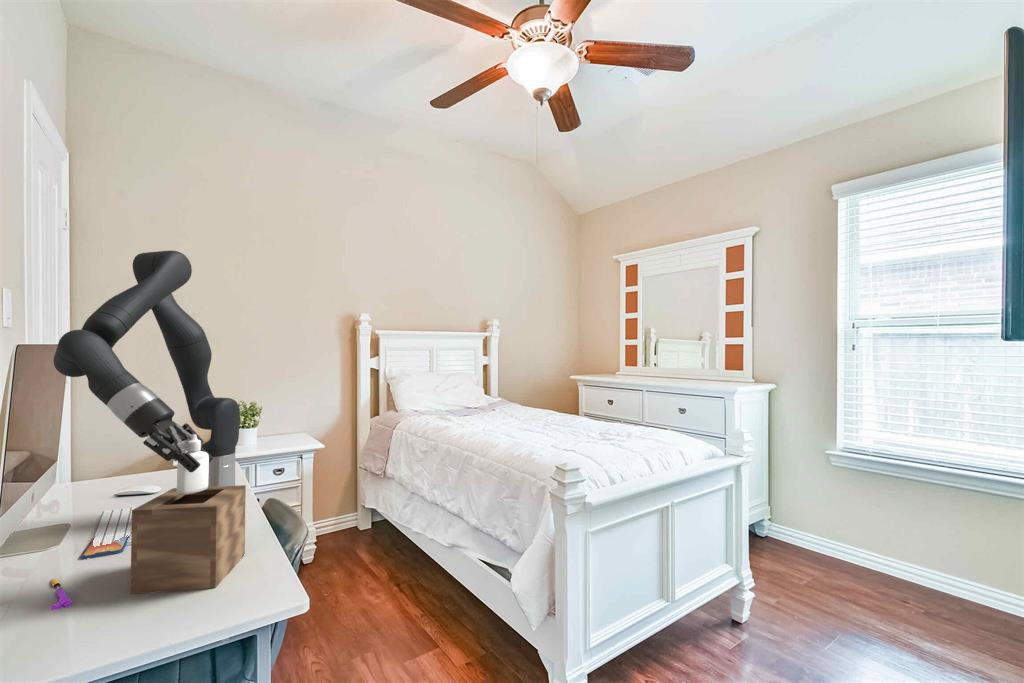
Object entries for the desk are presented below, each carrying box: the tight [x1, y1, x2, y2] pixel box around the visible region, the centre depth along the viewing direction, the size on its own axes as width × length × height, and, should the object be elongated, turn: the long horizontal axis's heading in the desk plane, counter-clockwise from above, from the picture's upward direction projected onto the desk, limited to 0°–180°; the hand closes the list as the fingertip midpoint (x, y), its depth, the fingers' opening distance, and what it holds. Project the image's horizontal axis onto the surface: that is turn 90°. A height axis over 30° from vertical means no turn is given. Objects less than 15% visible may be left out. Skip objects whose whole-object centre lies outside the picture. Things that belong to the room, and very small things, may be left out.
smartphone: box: [81, 535, 130, 560], centre depth 115 cm, size 7×15×1 cm, turn 32°
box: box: [129, 484, 247, 595], centre depth 100 cm, size 15×15×16 cm
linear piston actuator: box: [49, 577, 72, 611], centre depth 92 cm, size 3×1×16 cm
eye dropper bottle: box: [176, 434, 209, 495], centre depth 101 cm, size 4×6×12 cm
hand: (202, 465), depth 101 cm, fingers closed on eye dropper bottle, 5 cm apart
